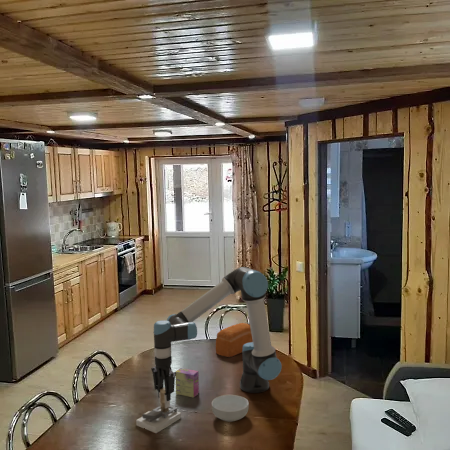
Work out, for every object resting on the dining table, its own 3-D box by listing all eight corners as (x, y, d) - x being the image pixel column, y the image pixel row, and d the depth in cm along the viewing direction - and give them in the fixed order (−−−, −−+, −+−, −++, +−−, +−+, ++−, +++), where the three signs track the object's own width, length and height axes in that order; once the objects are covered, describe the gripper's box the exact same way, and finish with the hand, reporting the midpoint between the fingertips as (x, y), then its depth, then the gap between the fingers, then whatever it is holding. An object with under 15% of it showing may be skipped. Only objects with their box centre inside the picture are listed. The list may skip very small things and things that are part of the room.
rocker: (162, 415, 211) (161, 411, 211) (155, 419, 207) (154, 415, 207) (149, 414, 216) (149, 410, 216) (142, 418, 212) (142, 414, 212)
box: (199, 393, 243) (198, 370, 242) (193, 397, 238) (193, 374, 237) (181, 389, 248) (180, 367, 247) (175, 394, 243) (174, 371, 242)
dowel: (170, 412, 218) (169, 388, 218) (165, 415, 216) (164, 391, 215) (164, 410, 221) (163, 386, 220) (159, 413, 218) (158, 389, 217)
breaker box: (181, 417, 218) (180, 408, 218) (156, 433, 205) (155, 423, 205) (161, 411, 225) (161, 402, 225) (136, 425, 212) (136, 416, 212)
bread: (213, 353, 299) (213, 328, 298) (240, 342, 318) (240, 319, 317) (230, 358, 290) (229, 333, 288) (257, 347, 309) (256, 322, 308)
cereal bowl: (236, 430, 206) (236, 414, 206) (204, 421, 215) (204, 405, 214) (255, 413, 221) (255, 399, 220) (224, 405, 229) (224, 391, 229)
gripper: (181, 356, 214) (183, 407, 216) (156, 350, 223) (158, 398, 226) (170, 361, 208) (171, 414, 210) (144, 354, 217) (146, 405, 219)
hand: (164, 406), depth 218 cm, fingers closed on dowel, 2 cm apart
